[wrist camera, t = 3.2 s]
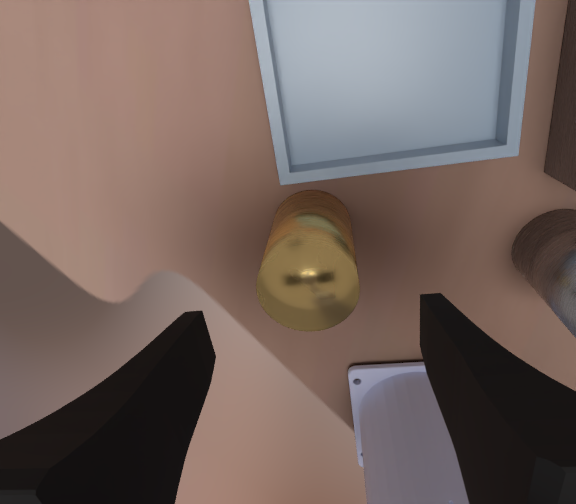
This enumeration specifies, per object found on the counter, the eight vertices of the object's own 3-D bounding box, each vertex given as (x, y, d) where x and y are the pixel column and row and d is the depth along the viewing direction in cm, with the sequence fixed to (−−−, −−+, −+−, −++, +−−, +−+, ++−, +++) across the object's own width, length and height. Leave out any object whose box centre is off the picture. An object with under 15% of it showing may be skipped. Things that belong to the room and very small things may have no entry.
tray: (501, 145, 18) (518, 155, 16) (283, 173, 19) (280, 185, 18) (528, -151, 13) (555, -177, 12) (241, -86, 15) (231, -101, 13)
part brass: (353, 256, 21) (363, 327, 16) (280, 263, 22) (266, 334, 16) (347, 185, 19) (355, 239, 14) (267, 194, 20) (247, 250, 15)
